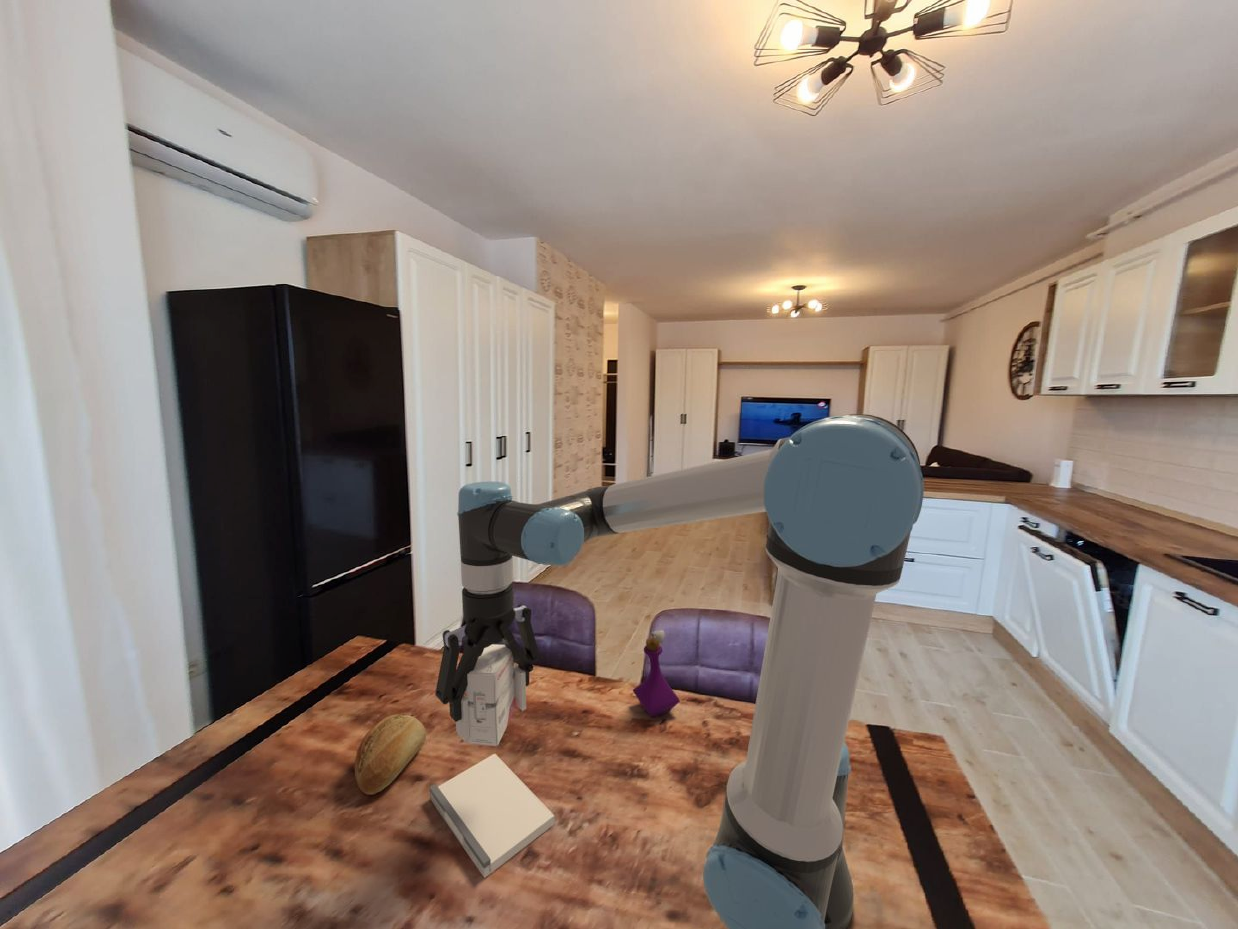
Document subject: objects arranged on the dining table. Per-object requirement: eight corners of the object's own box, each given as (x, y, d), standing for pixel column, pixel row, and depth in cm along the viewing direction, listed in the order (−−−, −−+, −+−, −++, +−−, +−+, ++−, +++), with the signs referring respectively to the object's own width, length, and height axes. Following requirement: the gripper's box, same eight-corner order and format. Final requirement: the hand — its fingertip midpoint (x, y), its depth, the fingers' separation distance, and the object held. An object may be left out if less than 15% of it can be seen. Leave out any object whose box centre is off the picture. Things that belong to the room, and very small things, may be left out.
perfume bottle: (632, 703, 103) (632, 626, 100) (662, 694, 106) (663, 619, 103) (648, 725, 96) (649, 642, 93) (679, 715, 99) (681, 634, 96)
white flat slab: (554, 824, 74) (554, 811, 73) (483, 879, 65) (482, 864, 65) (495, 760, 86) (494, 749, 86) (429, 800, 78) (428, 787, 78)
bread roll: (338, 799, 78) (334, 755, 77) (391, 735, 93) (388, 698, 92) (392, 805, 77) (389, 761, 76) (437, 739, 92) (435, 701, 91)
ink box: (488, 707, 79) (486, 641, 77) (516, 709, 78) (514, 643, 77) (466, 745, 71) (463, 671, 69) (497, 747, 70) (495, 674, 68)
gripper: (534, 561, 81) (536, 681, 85) (403, 598, 66) (412, 743, 69) (561, 572, 76) (562, 700, 79) (425, 616, 61) (434, 772, 64)
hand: (492, 720), depth 74 cm, fingers closed on ink box, 9 cm apart
